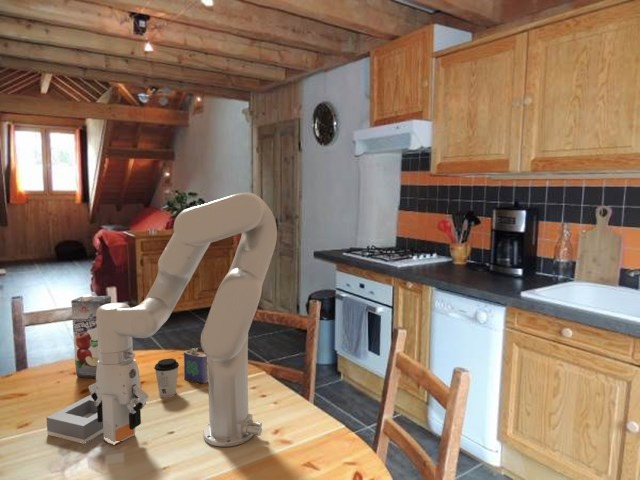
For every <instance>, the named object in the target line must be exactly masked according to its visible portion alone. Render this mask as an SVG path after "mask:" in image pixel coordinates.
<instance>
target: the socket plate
mask: <svg viewBox="0 0 640 480" xmlns="http://www.w3.org/2000/svg"><path fill="white" fill-rule="evenodd" d="M91 395H92V394H91V393H90V394H89V395H88V396H85V397H83V398H81V399H80V400H77V401H76V402H74V403H72V404H70V405H67V406H66V407H63V408H62V409H60V410H58V411H55V412H54V413H52V414H51V415H49V416H46V417H45V418H46V429H47V435H48V436H52V437H56V438H60V439H63V440H67V441H71V442H76V443H79V442H81V443H80V444H83V443H85V442H87V441H88V440H90V441H92V440H93V439H95V438H96V437H99V435H101V434H103V421H102V422H98V417H97V406H95V404H94V403H95V401H94V400H93V398H92V397H91ZM91 439H92V440H91ZM88 442H89V441H88ZM88 442H87V443H88ZM85 444H86V443H85Z"/></svg>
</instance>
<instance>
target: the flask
mask: <svg viewBox="0 0 640 480" xmlns="http://www.w3.org/2000/svg"><path fill="white" fill-rule="evenodd" d="M198 350H199V348H198V347H195V348H191V349H189V350H185V351H184V352H183V364H184V366H183V369H184V370H183V372H184V373H183V374H184V375H183V376H184V378H183V379H184V380H185V381H186V382H187V381H188V382H190V383H194V384H199V385H206V384H207V383H208V357H207V356H206V354H205V353H198Z"/></svg>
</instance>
